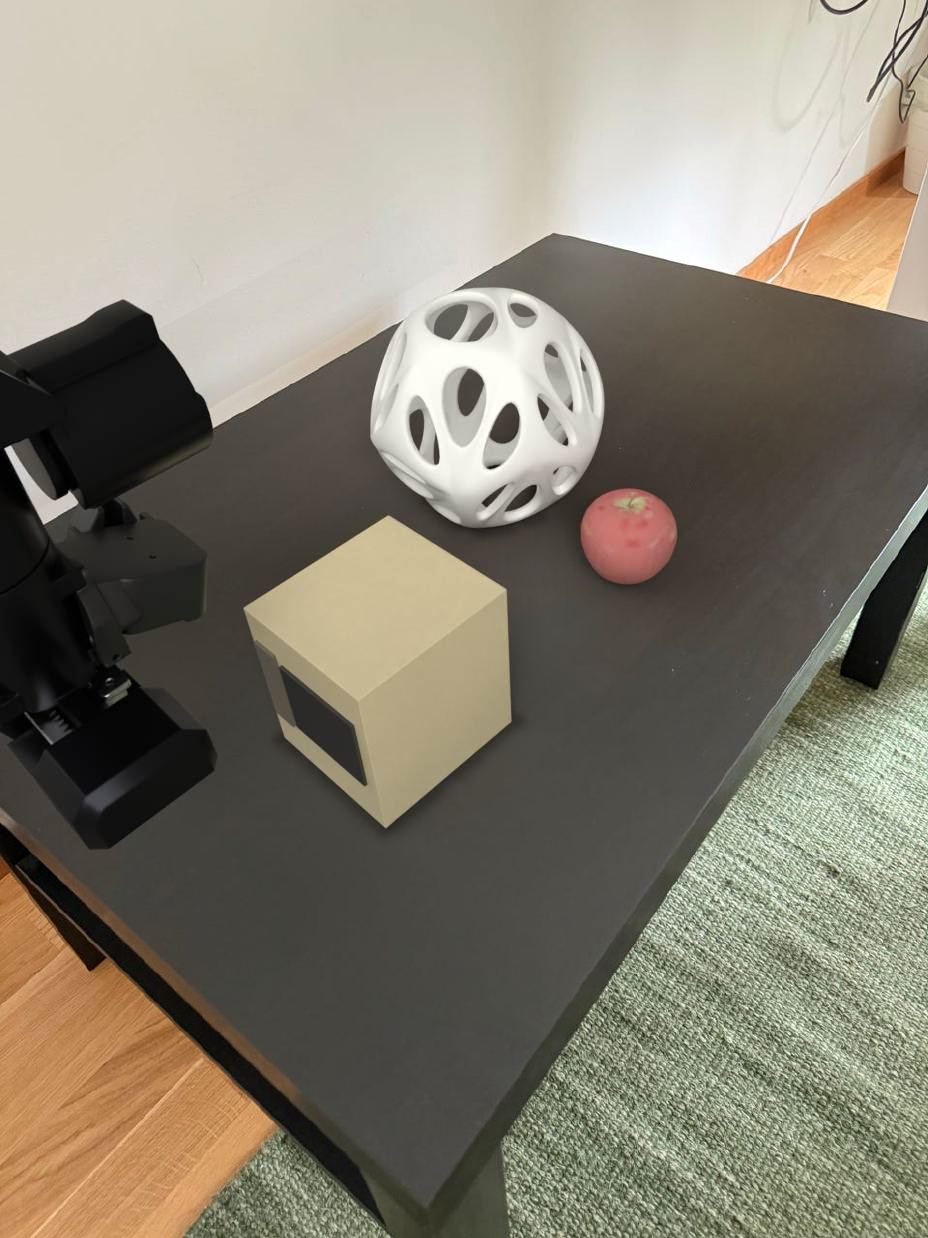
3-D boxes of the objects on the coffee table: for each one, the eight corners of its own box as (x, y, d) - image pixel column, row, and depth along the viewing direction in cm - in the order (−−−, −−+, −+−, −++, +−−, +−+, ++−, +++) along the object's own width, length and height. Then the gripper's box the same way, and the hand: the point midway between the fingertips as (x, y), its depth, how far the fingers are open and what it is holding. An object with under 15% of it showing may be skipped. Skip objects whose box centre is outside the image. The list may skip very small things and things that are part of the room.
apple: (628, 531, 80) (634, 454, 74) (689, 577, 75) (701, 498, 70) (560, 567, 77) (562, 490, 71) (619, 616, 73) (626, 538, 67)
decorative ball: (384, 577, 78) (354, 394, 65) (377, 442, 92) (351, 271, 79) (621, 551, 78) (635, 365, 66) (578, 421, 92) (583, 247, 80)
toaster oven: (382, 831, 60) (354, 703, 51) (281, 739, 66) (239, 609, 57) (511, 721, 66) (507, 589, 57) (408, 646, 72) (388, 514, 63)
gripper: (277, 558, 36) (343, 787, 47) (50, 391, 46) (150, 613, 57) (7, 731, 31) (154, 942, 42) (-182, 501, 40) (-23, 721, 52)
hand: (110, 781), depth 48 cm, fingers closed
